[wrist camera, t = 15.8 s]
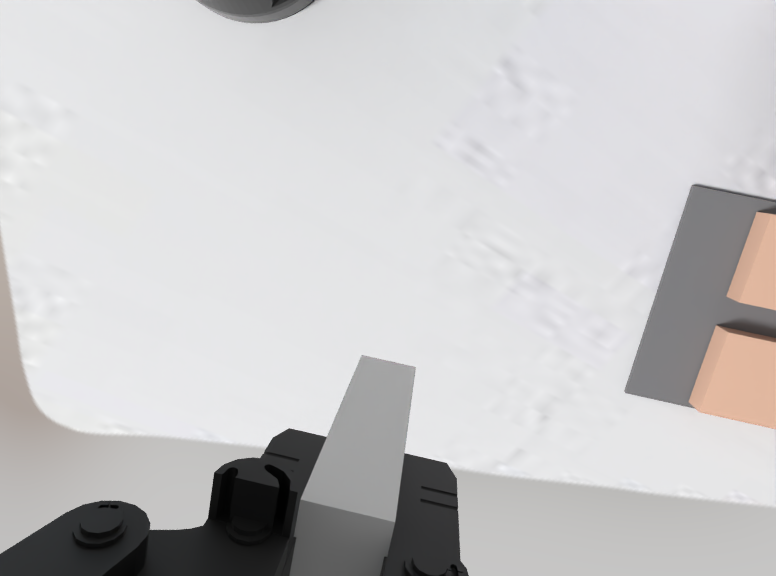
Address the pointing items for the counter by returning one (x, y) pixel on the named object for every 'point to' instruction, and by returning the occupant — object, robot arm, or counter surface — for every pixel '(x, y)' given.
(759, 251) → the tile
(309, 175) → the counter surface
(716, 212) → the mat
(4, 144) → the counter surface
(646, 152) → the counter surface
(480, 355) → the counter surface
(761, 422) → the tile
